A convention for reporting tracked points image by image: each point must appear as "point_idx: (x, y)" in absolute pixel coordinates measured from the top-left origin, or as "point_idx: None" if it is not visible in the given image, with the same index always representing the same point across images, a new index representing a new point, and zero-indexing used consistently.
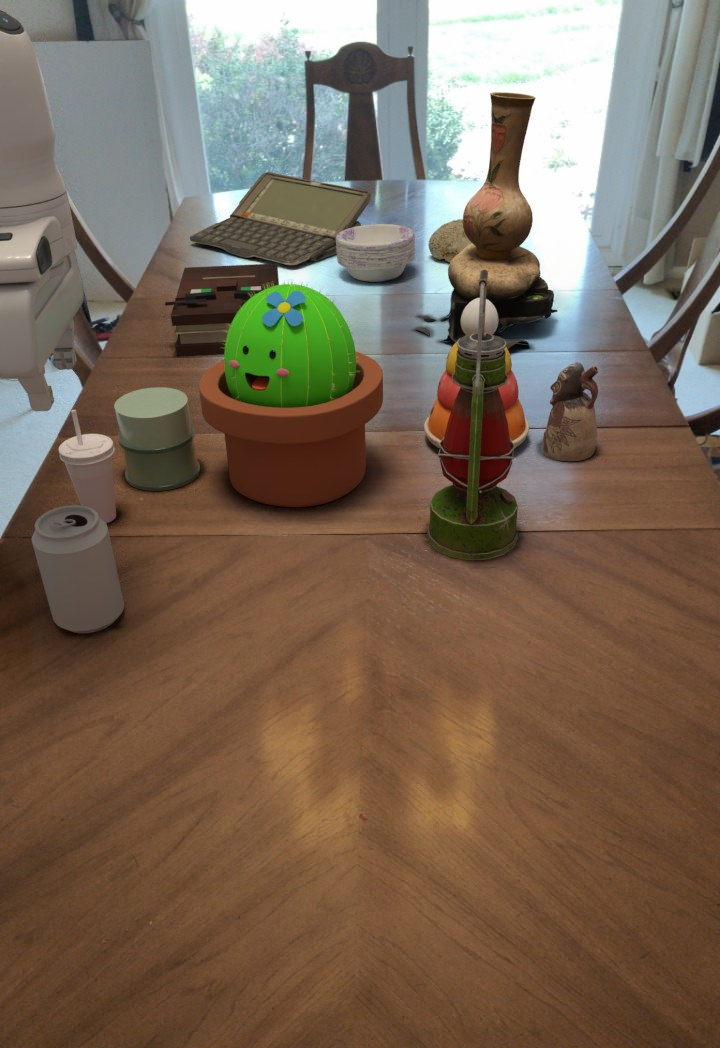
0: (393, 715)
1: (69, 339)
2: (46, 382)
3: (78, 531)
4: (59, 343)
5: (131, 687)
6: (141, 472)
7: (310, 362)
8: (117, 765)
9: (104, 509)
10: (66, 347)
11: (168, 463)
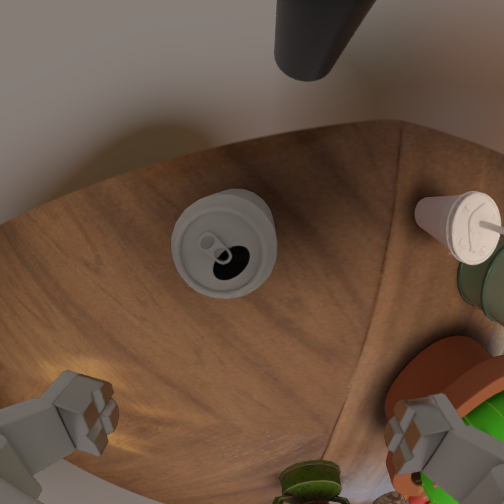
0: (124, 420)
1: (442, 482)
2: (50, 463)
3: (199, 271)
4: (451, 454)
5: (132, 275)
6: None
7: (433, 499)
8: (62, 272)
9: (422, 224)
10: (429, 463)
11: (474, 291)
